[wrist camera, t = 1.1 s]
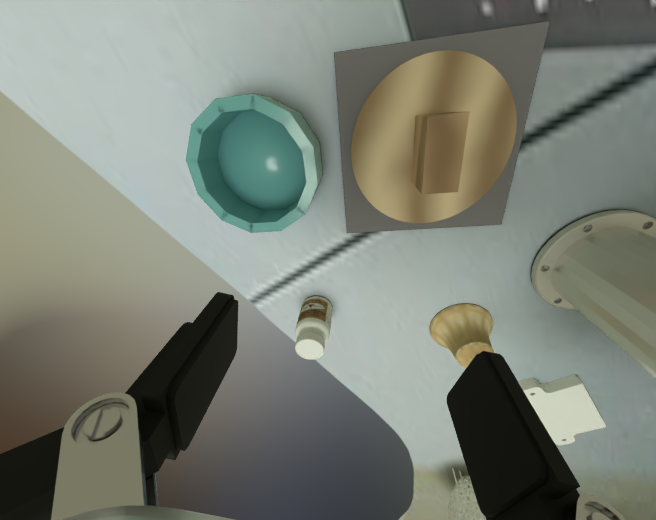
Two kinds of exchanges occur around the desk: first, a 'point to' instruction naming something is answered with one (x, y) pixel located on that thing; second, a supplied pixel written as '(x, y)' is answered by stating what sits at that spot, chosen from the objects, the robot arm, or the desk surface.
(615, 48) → the desk surface
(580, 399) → the mounting plate
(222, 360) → the robot arm
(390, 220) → the mat
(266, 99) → the bowl
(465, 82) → the lid
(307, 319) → the pill bottle
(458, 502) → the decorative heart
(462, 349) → the hand bell
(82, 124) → the desk surface
